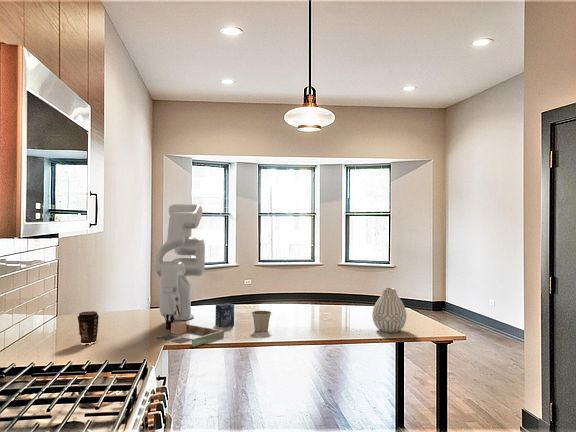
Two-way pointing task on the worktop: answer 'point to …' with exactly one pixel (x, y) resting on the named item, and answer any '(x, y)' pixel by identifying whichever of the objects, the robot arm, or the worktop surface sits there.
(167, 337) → the mats
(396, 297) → the vase
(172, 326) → the block
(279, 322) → the worktop surface
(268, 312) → the flower pot
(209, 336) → the shallow rectangular tray
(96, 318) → the coffee cup
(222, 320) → the box
